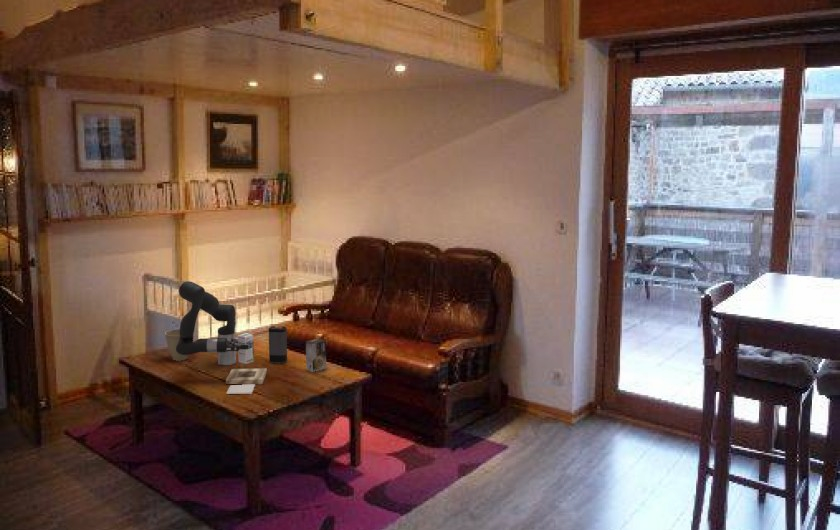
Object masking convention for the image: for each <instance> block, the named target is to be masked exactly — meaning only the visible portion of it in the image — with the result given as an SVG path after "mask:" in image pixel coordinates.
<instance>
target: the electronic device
mask: <svg viewBox="0 0 840 530" xmlns="http://www.w3.org/2000/svg"><path fill="white" fill-rule="evenodd" d="M287 333H288V332H287V327H286V326H281V327H276V326H274V325H273V326H270V327H268V356H269V358H268V359H269V360H268V361H269V364H280V363H284V364H286V363H287V362H288V343H287V342H288V339H287V338H288V335H287Z"/></svg>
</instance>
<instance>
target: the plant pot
mask: <svg viewBox="0 0 840 530" xmlns="http://www.w3.org/2000/svg"><path fill="white" fill-rule="evenodd" d="M179 331H180V328H177V329H170V330H167V331H165V332H164V337H165V341H166V345H167V348H168V352H169V353H170V356H171V358H172V360H173V361H174V360H176V361H175V362H182V361H181V360H183V361H186V360H187V359H188V357H189V355H181V354H179V353H177V351H176V346H177V344H178V341H179V338H180V334H179ZM185 359H186V360H185Z"/></svg>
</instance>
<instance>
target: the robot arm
mask: <svg viewBox="0 0 840 530" xmlns="http://www.w3.org/2000/svg"><path fill="white" fill-rule="evenodd" d="M178 294H179V296H180V298H182V299H184V300H186V301H187V302H189V303H191V308H190V310H188V312H187V313H186V314H185V315H184V316H183V317H182V319H181V322H180V324H179V329H180V331H179V334H180V338H179V341H178V344H177V346H176V351H177V353H179V354H181V355H188V356H189V355H194V354H198V353H214V354H216V353H217V364H218V365H220V366H232V365H235V364H236V363H237V352H238V351H239V350H241V349H248V348H249V347H248V345H238V339H235V337H236V306H234V305H233V304H220V302H219V299H218V298H217V297H216V296H215V295H213V294H212V293H210V292H208V291H206V290H205V288H204V287H203V286H201V285H199V284H198V283H195V282H193V281H188V280H187V281H184V282H183V283H181V285H180V286H179V289H178ZM200 310H202V311H203V312H205V313H207V314H209V315H210V316H211V317H212V318H213V319H214V320H215V321H217V322H226V325H223V326H220V327H218V328H217V337H209V338H206V337H205V338H197V340H195V341H194V334H195V333H194V332H195V327H196V323H197V318H198V316H199V313H200Z"/></svg>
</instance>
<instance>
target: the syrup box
mask: <svg viewBox="0 0 840 530" xmlns="http://www.w3.org/2000/svg"><path fill="white" fill-rule="evenodd" d="M237 337H238V345H248V347H249V348H248V349H241V350H239V351H237V355H238V362H239V363H241V364H246V365H247V364H250V363H253V362H255V347H254V346H255V345H254V334H252V333H247V332H246V333H243V334H238V335H237Z"/></svg>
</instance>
